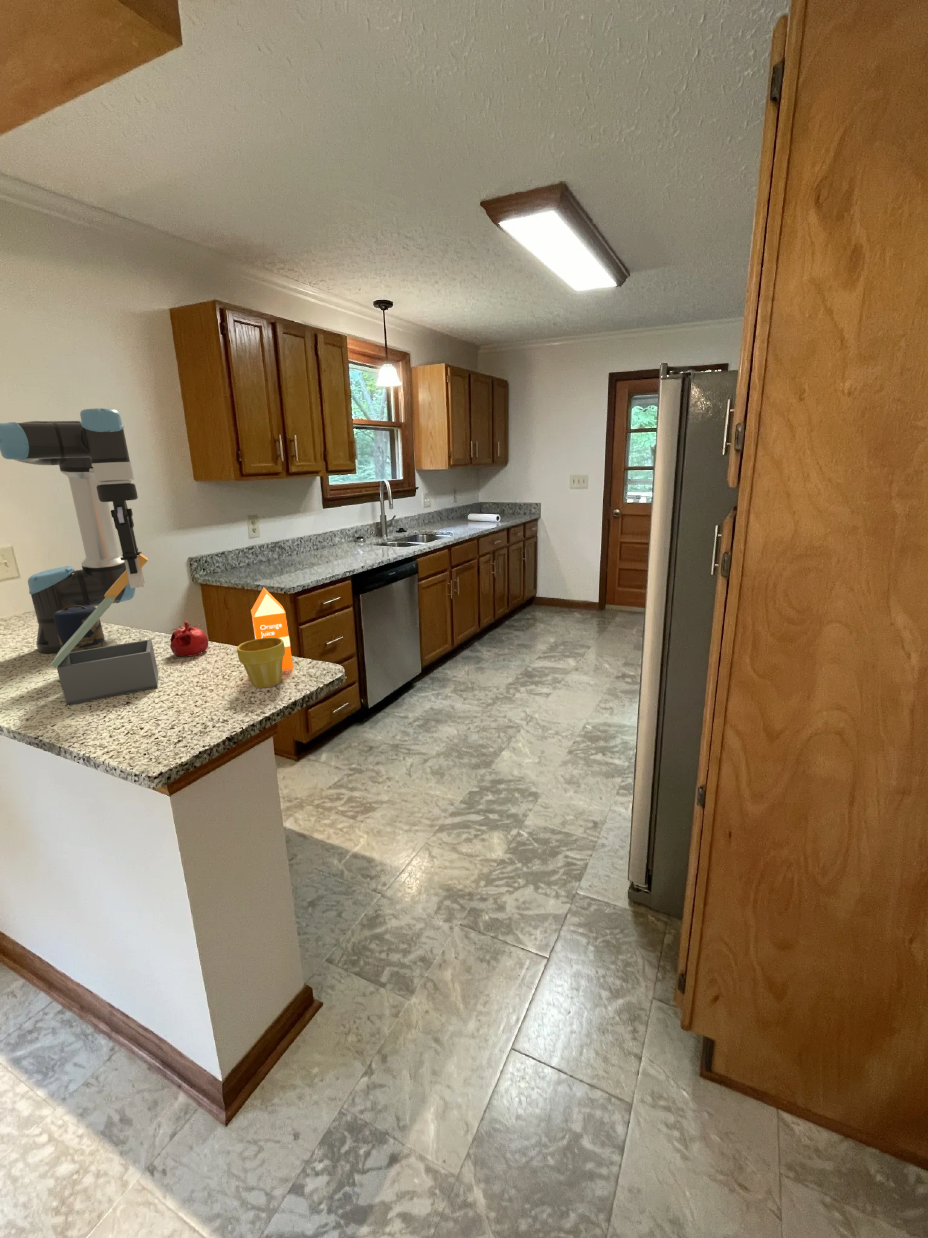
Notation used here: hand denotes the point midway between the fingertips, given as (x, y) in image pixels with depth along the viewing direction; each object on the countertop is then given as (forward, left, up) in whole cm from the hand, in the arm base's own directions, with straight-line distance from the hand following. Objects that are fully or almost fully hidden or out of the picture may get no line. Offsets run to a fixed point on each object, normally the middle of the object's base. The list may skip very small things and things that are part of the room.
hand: (137, 585), depth 130 cm
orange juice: (+7, +27, -24) cm, 37 cm away
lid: (0, -7, -5) cm, 9 cm away
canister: (-18, -16, -24) cm, 34 cm away
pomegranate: (-19, +8, -24) cm, 32 cm away
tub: (0, -9, -24) cm, 26 cm away
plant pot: (+18, +23, -24) cm, 38 cm away
